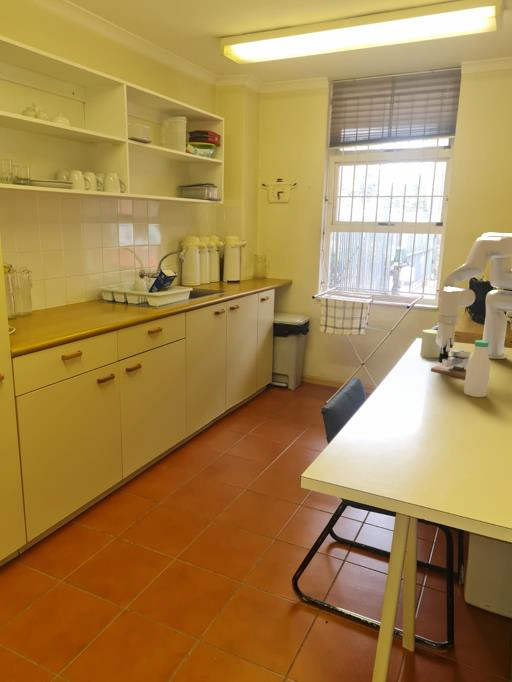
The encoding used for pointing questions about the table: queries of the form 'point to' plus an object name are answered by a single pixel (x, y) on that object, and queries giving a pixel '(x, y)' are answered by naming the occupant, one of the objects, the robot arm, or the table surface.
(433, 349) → the can
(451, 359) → the coupling
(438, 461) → the table surface
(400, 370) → the table surface
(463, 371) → the post base
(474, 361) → the milk bottle
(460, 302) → the robot arm
